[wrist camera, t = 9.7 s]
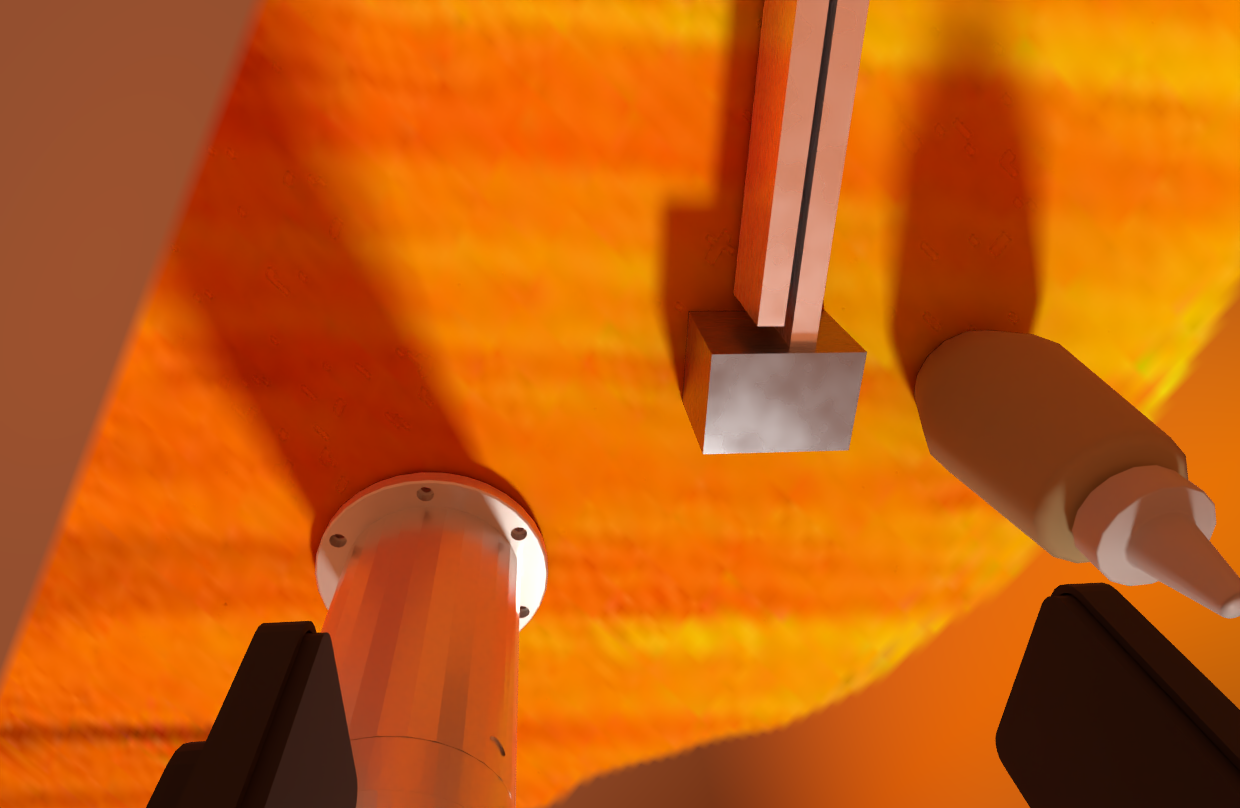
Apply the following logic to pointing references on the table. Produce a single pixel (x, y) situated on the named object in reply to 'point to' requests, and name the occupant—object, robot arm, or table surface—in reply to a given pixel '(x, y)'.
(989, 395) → the squeeze bottle
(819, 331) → the tong base
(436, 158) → the table surface
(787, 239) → the tong arm
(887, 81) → the table surface
